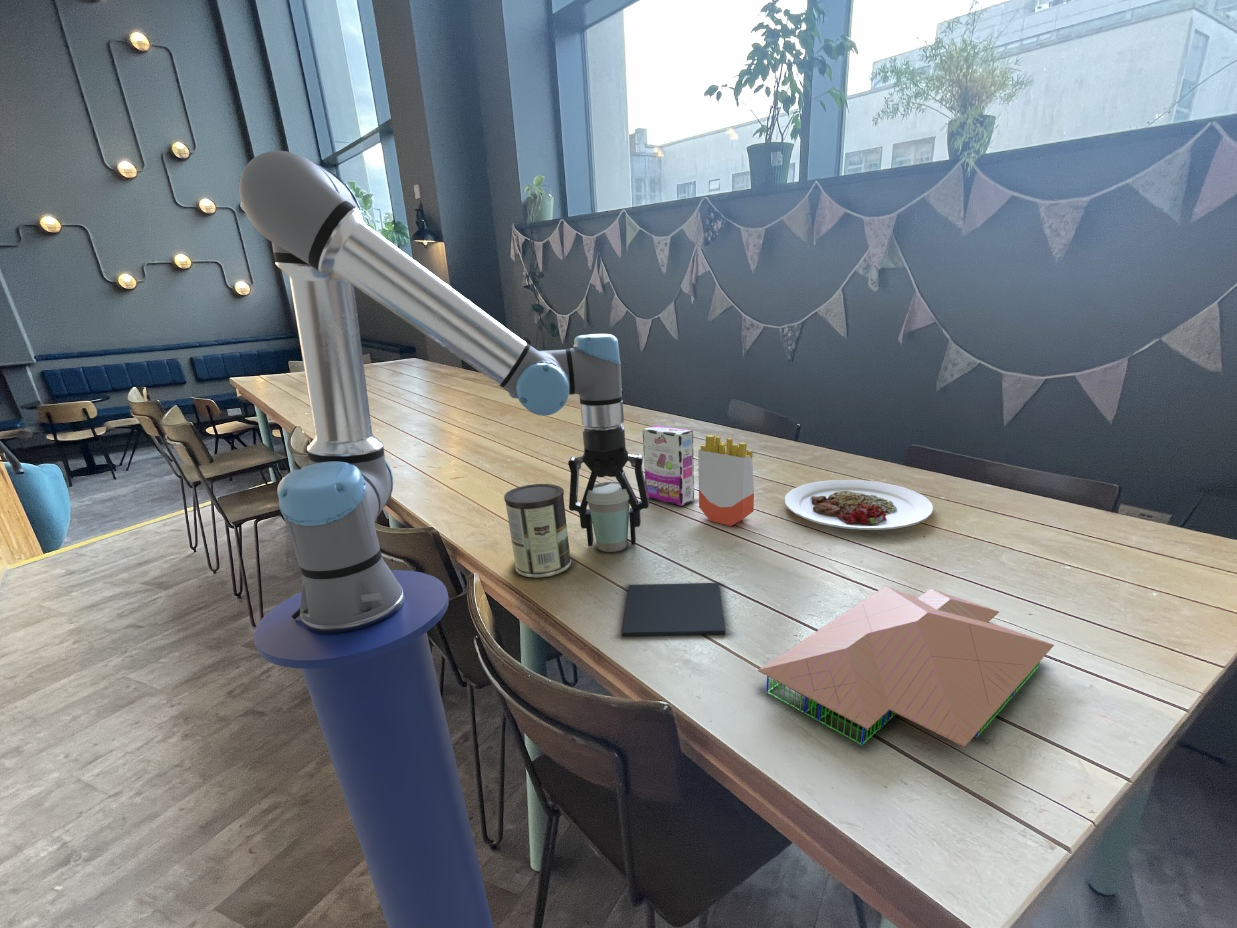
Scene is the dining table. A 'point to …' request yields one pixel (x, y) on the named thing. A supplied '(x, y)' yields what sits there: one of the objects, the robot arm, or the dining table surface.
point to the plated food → (858, 504)
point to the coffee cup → (609, 515)
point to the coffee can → (538, 529)
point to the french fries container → (725, 481)
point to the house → (910, 664)
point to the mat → (673, 610)
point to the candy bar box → (669, 464)
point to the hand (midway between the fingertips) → (612, 542)
